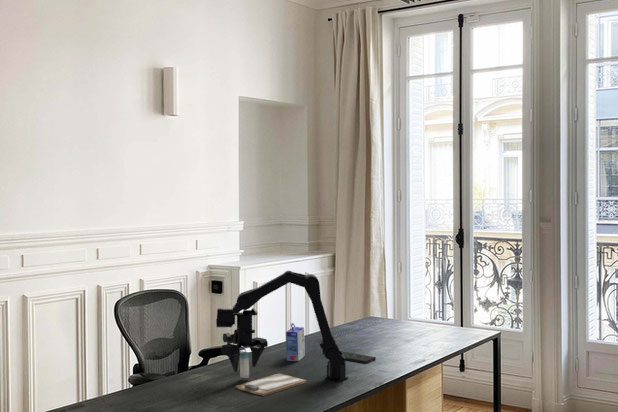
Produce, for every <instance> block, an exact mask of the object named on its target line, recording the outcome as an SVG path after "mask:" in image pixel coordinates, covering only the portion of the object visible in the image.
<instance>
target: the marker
mask: <svg viewBox="0 0 618 412" xmlns="http://www.w3.org/2000/svg"><path fill="white" fill-rule="evenodd" d="M239 354H240V357H239V362H240V363H239V366H240V367H239V370H240V371H239V373H240V375H239V376H240V381H241V382H249V377H250V352H248V351H242V352H239Z"/></svg>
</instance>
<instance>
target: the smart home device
mask: <svg viewBox="0 0 618 412" xmlns="http://www.w3.org/2000/svg"><path fill="white" fill-rule="evenodd" d="M340 351H341V352H342V353H343V355H344V357H345V361H349V362H354V363H360V364H365V365H366V364H369V363H372V362H374V361H376V360H377V359H376V356H373V355H372V356H371V355H366V354H360V353H355V352H354V353H353V352H348V351H342V350H340Z"/></svg>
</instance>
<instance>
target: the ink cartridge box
mask: <svg viewBox="0 0 618 412" xmlns="http://www.w3.org/2000/svg"><path fill="white" fill-rule="evenodd" d="M290 327H291V328H289V329H288V330H287V331H285V340H286V341H285V345H286V361H288V362H299V361H301V360H302V359H303V358H304V357H305V355H306V352H305V350H306V345H305V327H303V326H301V327H300V326H296V325H295V323H294V322H291V323H290Z"/></svg>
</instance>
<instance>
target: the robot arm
mask: <svg viewBox="0 0 618 412" xmlns="http://www.w3.org/2000/svg"><path fill="white" fill-rule="evenodd" d="M287 284H293V285H296V286H299V287H302V288H304V290H305V291H306V293H307V296H308V297H309V299H310V301H311V304H312V308H313V311H314V314H315V319H316V320H317V323H318V324H317V325H318V328H319V331H320V334H321V335H320V336H321V340H318V343H319V346H320V352H321V354H322V356H324V357H325V358H326V360H327V365H326V376H325V377H324V380H329V381H333V382H336V383H339V382H341V381H344V380H347V379H349V377H348V376H346V375H347V374H346V373H347V372H346V371H347V369H346V368H347V365H346V360H345V357H344V355H343V353H342V352H341V351H342V350H340V348H339V346H338V344H337V342H336V339H335V337H334V336H333V334H332V333H331V329H330V326H329V323H328V317H327V314H326V311H325V308H324V306H323V305H324V304H323V301H322V295H321V286H320V280H319V279H318V277H317V275H315V274H312V273H309V274H304V273H298V272H295V271H292V270H286V271H284V272H283V273H281V274H280V275H278V276H276V277H275V278H273V279H271V280H268V281H267V282H266V283H265V282H264V284H262V285H259V286H258V287H256V288H252V289H248V290H246V291H243V292H240V293H239V294H238V296H237V297H236V298H237V299H236V303H235V304H234V305H233V306H232V308H217V311H216V312H217V313H216V319H215V323H216V325H215V326H216V328H233V326H234V325H236V329H234V331H233V333H232V334H230V332H225V333H223V334H222V340H223V341H222V342H223V343H226V344H222V345H221V347H220V354H223V355H224V356H226V357H228V359H229V361H230V364H231V366H232V369H233V372H235V373H237V372H238V369H239V364H240V363H239V362H240V351H241V350H244V349H248V348H249V350H250V352H251V365H252V367H253V368H255V367H256V366H257V363H259V360H260V359H261V358H260V357H261V355H262V354H263V353H264V351H265V350H266V348H268V340H267V339H266V338H263V337H254V338H253V336H254V335H253V334H255V333H256V330H255V329H253V316H258V311H257V310H255V308H254V307H253V306H254V305H255V304H256V303H258V302H259V301H261V299H263V298H264V297H266V296H267V295H270V294H271V293H273V292H275V291H277V290H278V289H280V288H281V287H284V286H285V285H287ZM250 308H251V309H250ZM241 311H242V312H241Z"/></svg>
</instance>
